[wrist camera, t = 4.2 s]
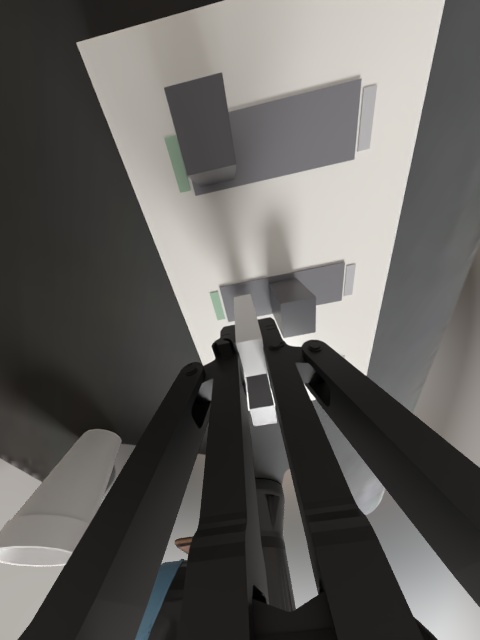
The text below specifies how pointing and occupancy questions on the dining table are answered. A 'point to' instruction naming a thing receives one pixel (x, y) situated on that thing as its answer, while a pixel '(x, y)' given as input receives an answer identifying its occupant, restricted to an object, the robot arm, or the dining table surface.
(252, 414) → the handle
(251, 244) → the breaker panel
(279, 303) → the handle
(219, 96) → the handle
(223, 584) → the robot arm
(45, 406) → the dining table surface
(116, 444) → the foam cup
